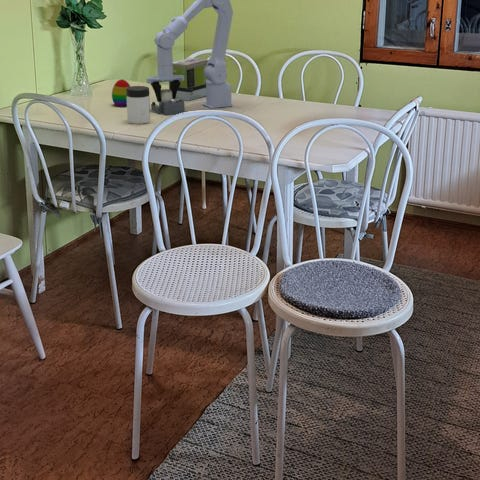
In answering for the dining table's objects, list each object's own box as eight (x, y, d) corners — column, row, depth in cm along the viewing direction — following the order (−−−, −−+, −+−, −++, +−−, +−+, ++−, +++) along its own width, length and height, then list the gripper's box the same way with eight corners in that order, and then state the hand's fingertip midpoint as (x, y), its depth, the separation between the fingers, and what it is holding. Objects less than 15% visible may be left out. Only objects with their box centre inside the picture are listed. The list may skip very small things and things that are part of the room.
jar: (132, 125, 283) (131, 91, 278) (122, 120, 289) (121, 87, 284) (155, 122, 287) (154, 88, 283) (145, 117, 294) (143, 84, 289)
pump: (170, 104, 308) (169, 88, 306) (174, 106, 304) (174, 90, 302) (157, 105, 307) (156, 89, 304) (161, 107, 302) (161, 91, 300)
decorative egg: (108, 106, 311) (107, 80, 307) (118, 102, 318) (117, 76, 314) (127, 108, 308) (126, 82, 304) (137, 103, 315) (136, 78, 311)
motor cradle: (176, 107, 310) (176, 93, 308) (187, 112, 301) (187, 98, 299) (151, 109, 305) (150, 96, 303) (161, 115, 297) (161, 101, 295)
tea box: (191, 92, 337) (191, 56, 331) (210, 95, 331) (210, 59, 326) (168, 98, 325) (167, 61, 320) (187, 101, 320) (187, 64, 314)
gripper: (178, 61, 306) (179, 97, 311) (143, 64, 299) (144, 100, 304) (186, 64, 300) (186, 100, 305) (150, 67, 294) (151, 104, 299)
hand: (166, 101), depth 304 cm, fingers closed on pump, 5 cm apart
